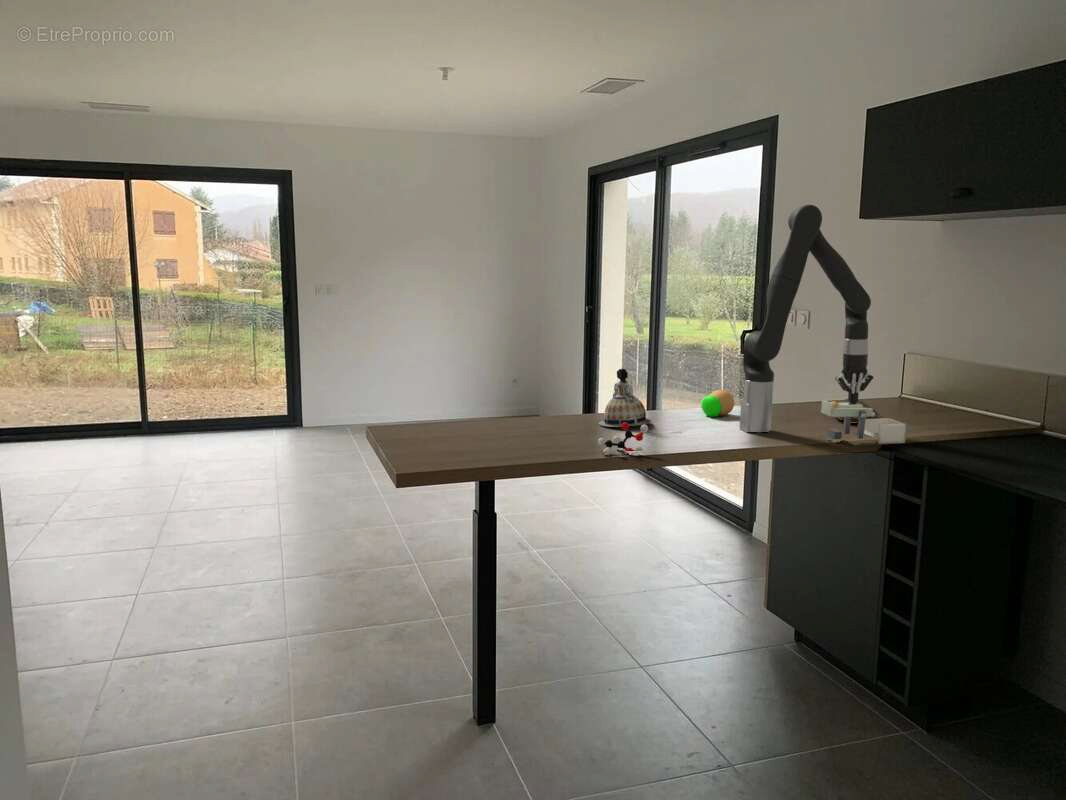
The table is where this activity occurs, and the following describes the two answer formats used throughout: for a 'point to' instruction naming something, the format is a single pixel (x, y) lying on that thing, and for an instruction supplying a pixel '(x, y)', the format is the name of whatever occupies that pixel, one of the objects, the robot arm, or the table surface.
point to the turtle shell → (855, 418)
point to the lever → (844, 409)
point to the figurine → (624, 405)
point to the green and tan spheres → (718, 403)
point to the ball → (835, 404)
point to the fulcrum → (846, 429)
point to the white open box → (886, 430)
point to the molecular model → (621, 444)
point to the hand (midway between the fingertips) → (853, 403)
